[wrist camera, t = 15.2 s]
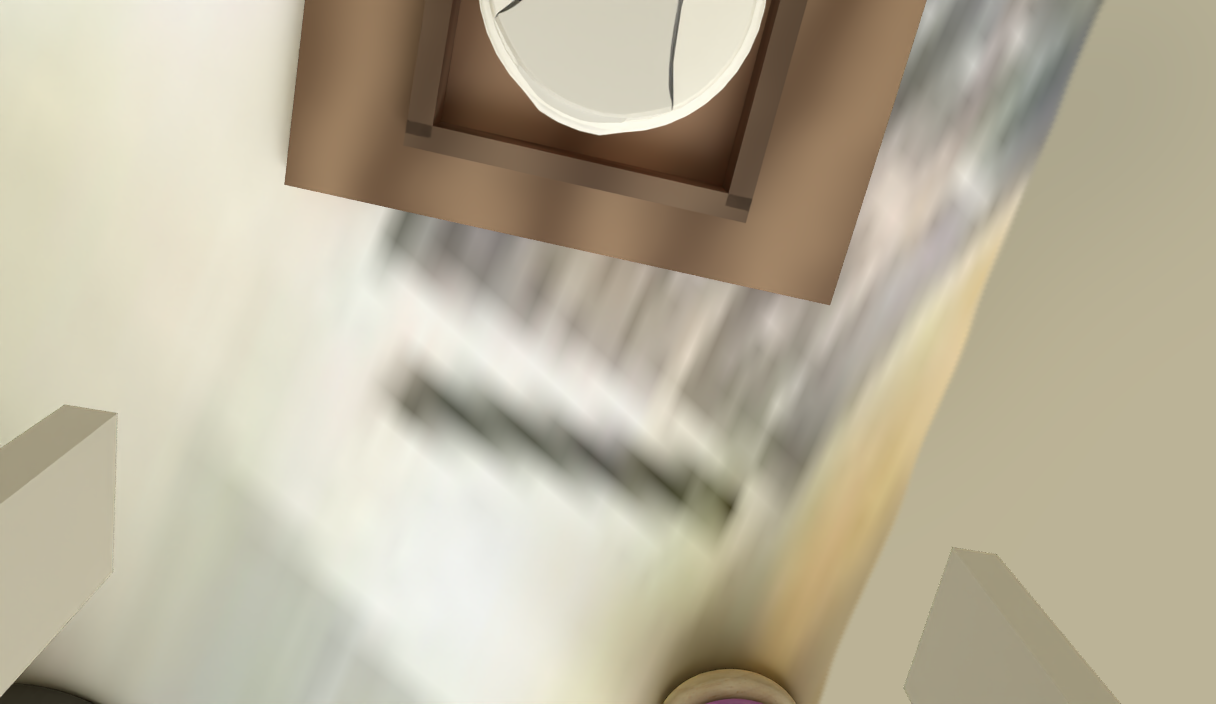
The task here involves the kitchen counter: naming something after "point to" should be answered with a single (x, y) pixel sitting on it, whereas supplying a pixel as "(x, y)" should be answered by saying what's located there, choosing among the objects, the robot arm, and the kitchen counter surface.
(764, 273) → the assembly base
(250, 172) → the kitchen counter surface
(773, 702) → the stacking toy
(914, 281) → the kitchen counter surface
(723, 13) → the paper cup
